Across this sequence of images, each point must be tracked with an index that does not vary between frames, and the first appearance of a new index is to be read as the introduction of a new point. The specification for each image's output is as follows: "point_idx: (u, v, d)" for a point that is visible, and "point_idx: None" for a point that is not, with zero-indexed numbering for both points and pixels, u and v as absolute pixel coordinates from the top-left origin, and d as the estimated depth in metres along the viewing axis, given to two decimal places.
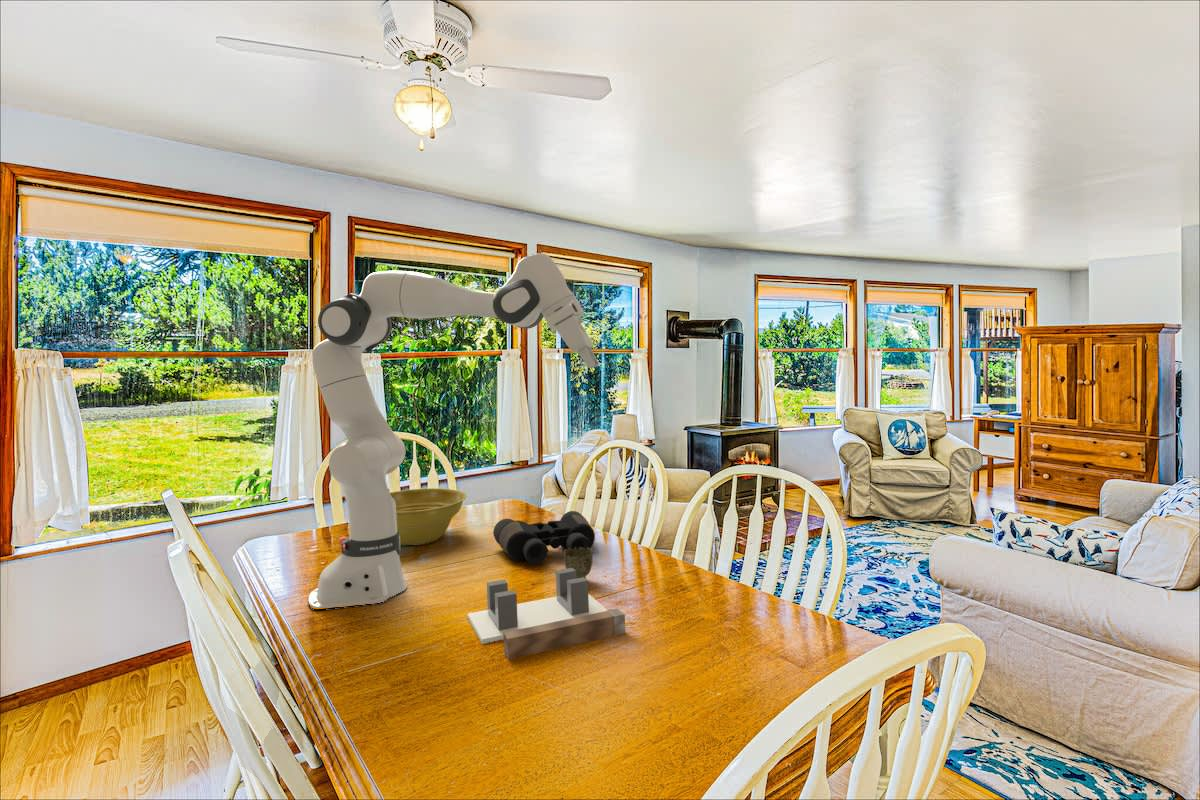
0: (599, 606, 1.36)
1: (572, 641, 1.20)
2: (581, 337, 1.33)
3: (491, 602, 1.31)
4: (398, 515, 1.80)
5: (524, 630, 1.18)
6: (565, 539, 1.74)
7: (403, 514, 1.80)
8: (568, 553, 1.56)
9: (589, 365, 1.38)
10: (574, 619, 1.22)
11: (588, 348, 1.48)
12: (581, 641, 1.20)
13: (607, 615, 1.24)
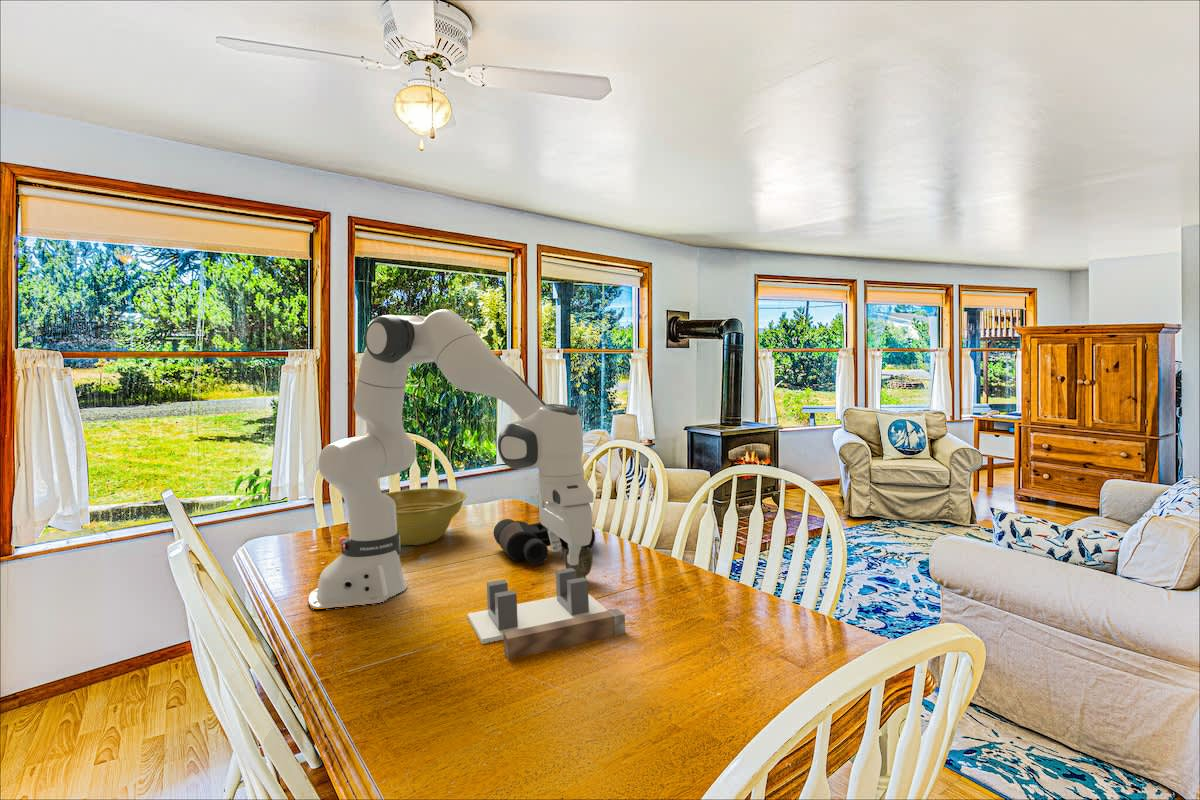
0: (599, 606, 1.36)
1: (572, 641, 1.20)
2: (590, 536, 1.11)
3: (491, 602, 1.31)
4: (398, 515, 1.80)
5: (524, 630, 1.18)
6: None
7: (403, 514, 1.80)
8: (568, 553, 1.56)
9: (572, 562, 1.15)
10: (574, 619, 1.22)
11: None
12: (581, 641, 1.20)
13: (607, 615, 1.24)
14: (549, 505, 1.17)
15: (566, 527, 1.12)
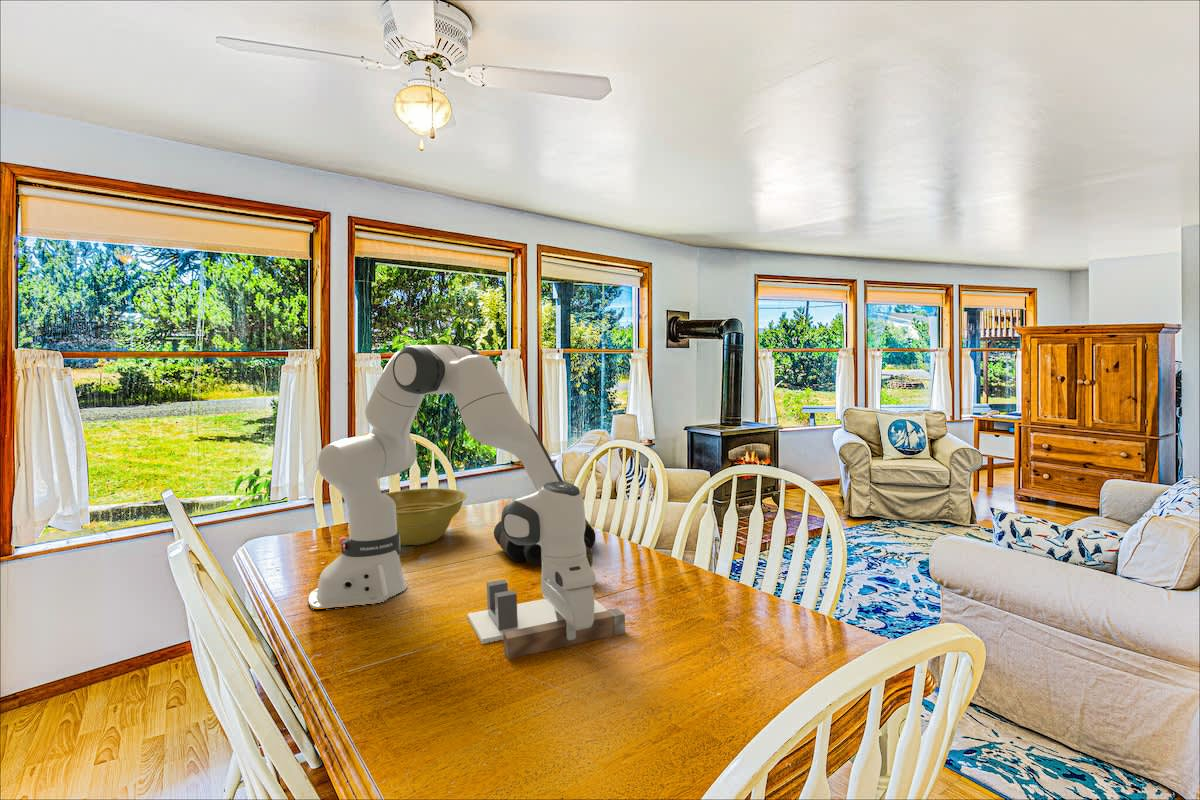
0: (599, 606, 1.36)
1: (572, 641, 1.20)
2: (592, 619, 1.12)
3: (491, 602, 1.31)
4: (398, 515, 1.80)
5: (524, 630, 1.18)
6: None
7: (403, 514, 1.80)
8: None
9: (570, 637, 1.18)
10: None
11: None
12: (581, 641, 1.20)
13: (607, 614, 1.24)
14: (552, 584, 1.18)
15: (568, 609, 1.13)
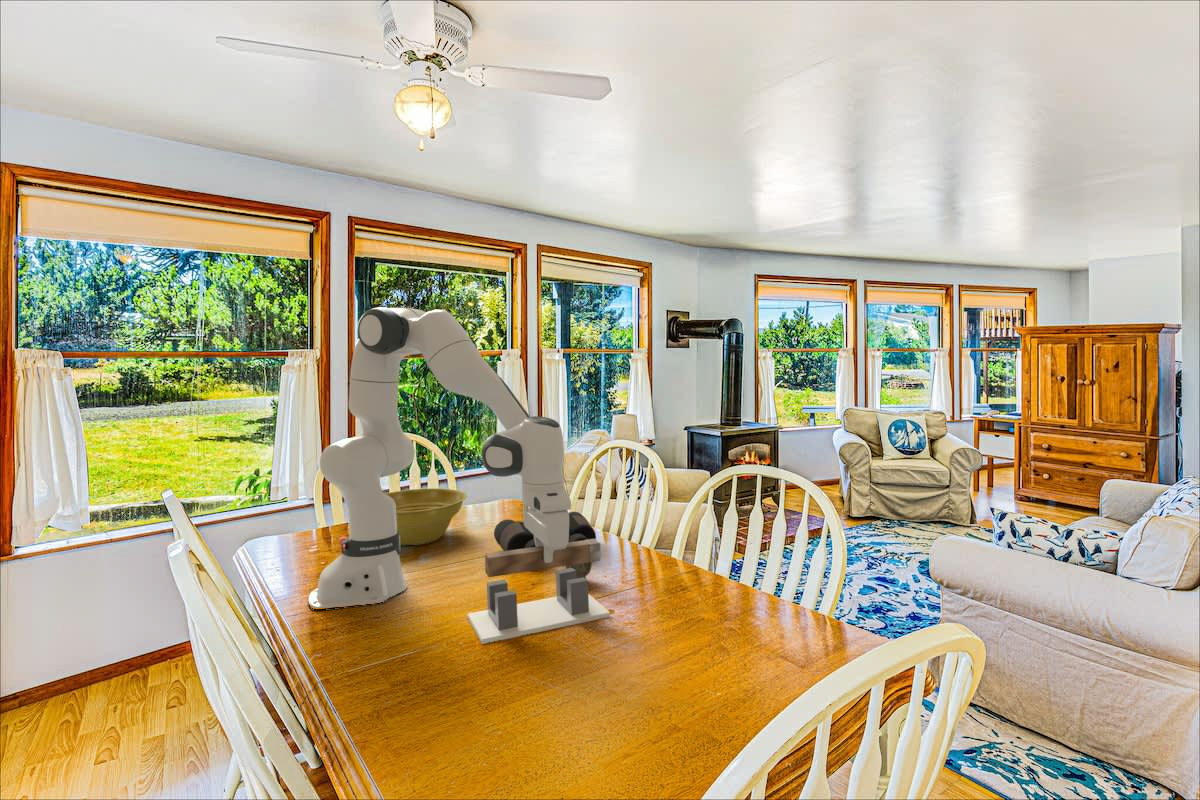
0: (599, 606, 1.36)
1: (549, 564, 1.28)
2: (567, 540, 1.20)
3: (491, 602, 1.31)
4: (398, 515, 1.80)
5: (505, 552, 1.26)
6: None
7: (403, 514, 1.80)
8: None
9: (547, 560, 1.26)
10: None
11: None
12: (558, 565, 1.29)
13: (583, 543, 1.32)
14: (531, 510, 1.26)
15: (545, 531, 1.22)
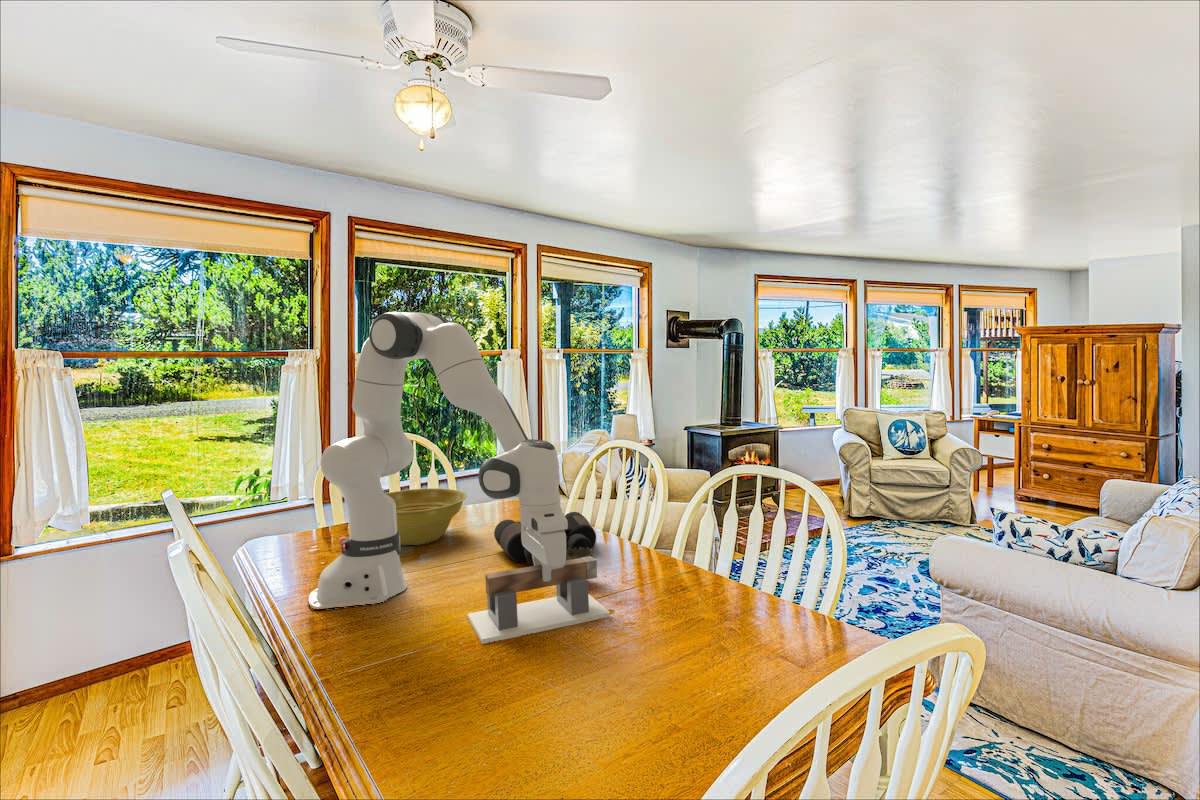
0: (599, 606, 1.36)
1: (548, 583, 1.32)
2: (564, 559, 1.24)
3: (491, 602, 1.31)
4: (398, 515, 1.80)
5: (504, 572, 1.30)
6: (566, 540, 1.72)
7: (403, 514, 1.80)
8: (568, 553, 1.56)
9: (545, 579, 1.30)
10: None
11: None
12: (556, 583, 1.33)
13: (580, 560, 1.36)
14: (529, 531, 1.30)
15: (543, 551, 1.26)
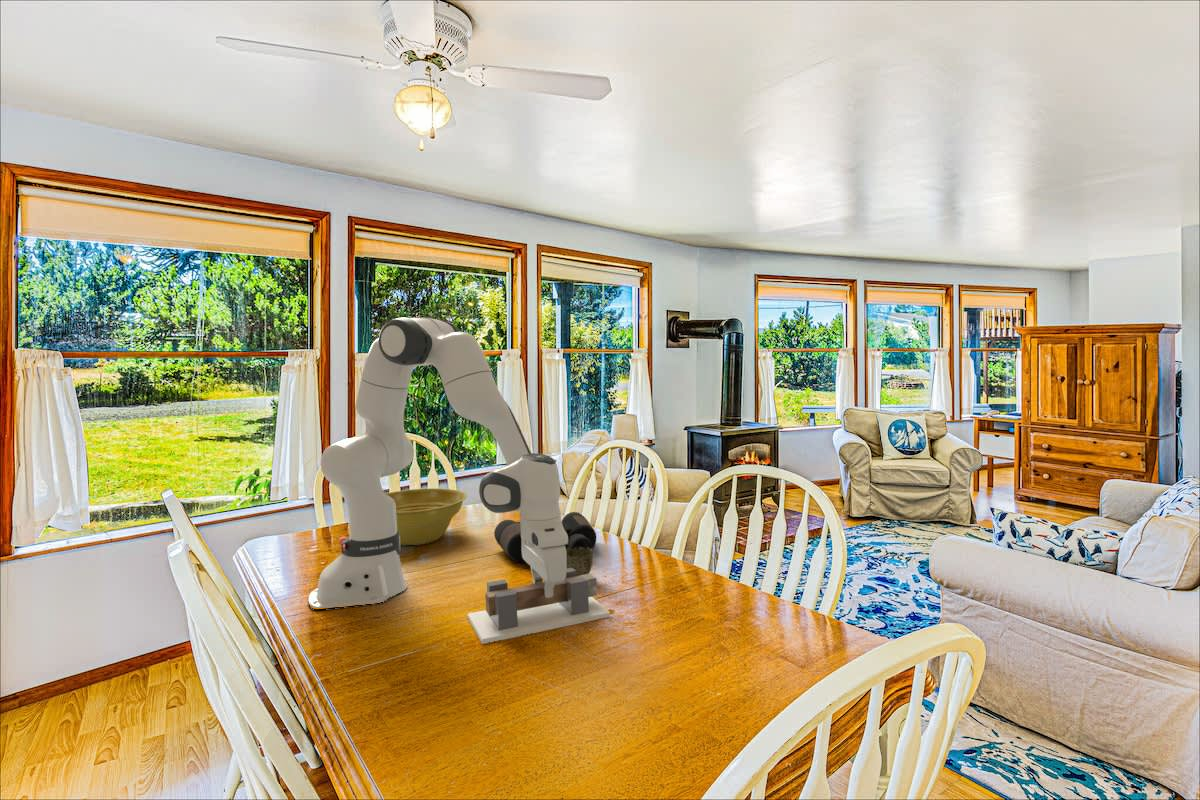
0: (599, 606, 1.36)
1: (548, 601, 1.32)
2: (565, 574, 1.24)
3: None
4: (398, 515, 1.80)
5: (504, 590, 1.30)
6: None
7: (403, 514, 1.80)
8: (568, 553, 1.56)
9: (547, 595, 1.29)
10: None
11: None
12: (556, 601, 1.33)
13: None
14: (529, 545, 1.30)
15: (543, 566, 1.26)
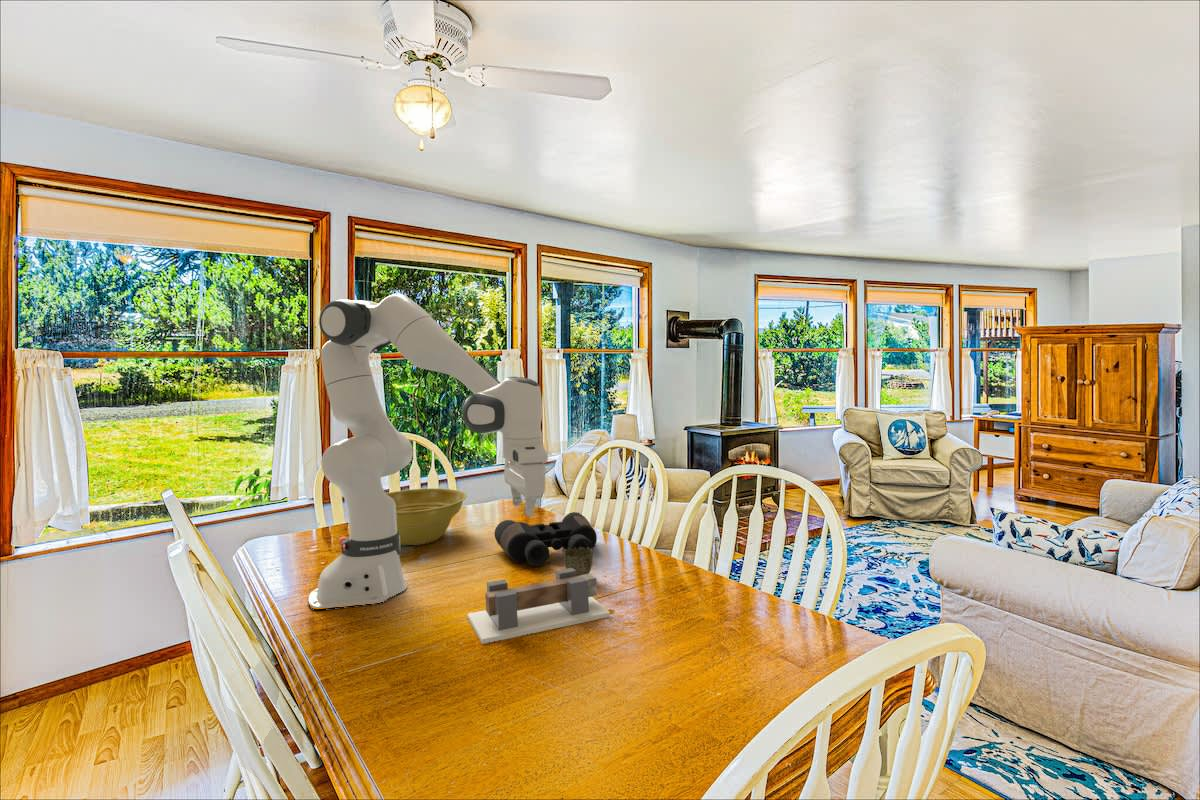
0: (599, 606, 1.36)
1: (548, 601, 1.32)
2: (543, 490, 1.29)
3: None
4: (398, 515, 1.80)
5: (504, 590, 1.30)
6: (567, 541, 1.72)
7: (403, 514, 1.80)
8: (568, 553, 1.56)
9: (528, 513, 1.32)
10: (550, 582, 1.35)
11: None
12: (556, 601, 1.33)
13: None
14: (511, 464, 1.35)
15: (523, 482, 1.30)
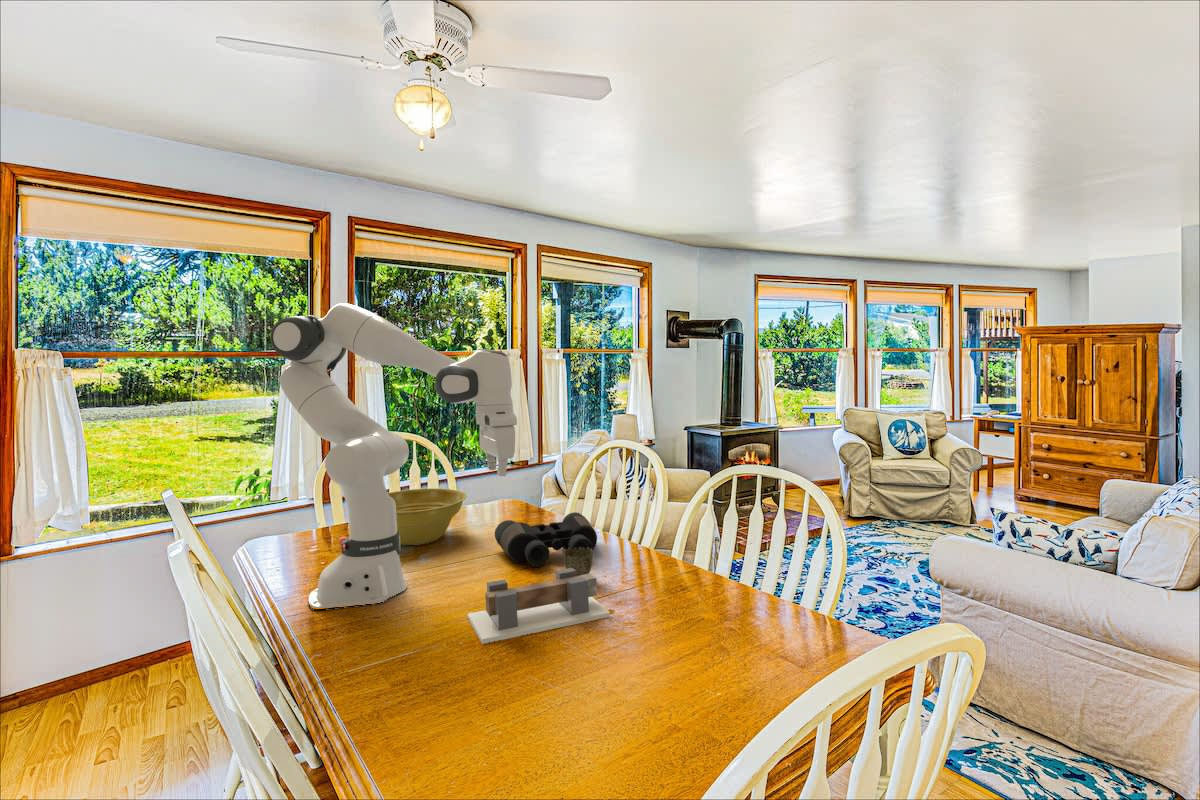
0: (599, 606, 1.36)
1: (548, 601, 1.32)
2: (513, 450, 1.39)
3: None
4: (398, 515, 1.80)
5: (504, 590, 1.30)
6: (567, 541, 1.72)
7: (403, 514, 1.80)
8: (568, 553, 1.56)
9: (501, 474, 1.43)
10: (550, 582, 1.35)
11: None
12: (556, 601, 1.33)
13: None
14: (484, 429, 1.45)
15: (495, 444, 1.41)
